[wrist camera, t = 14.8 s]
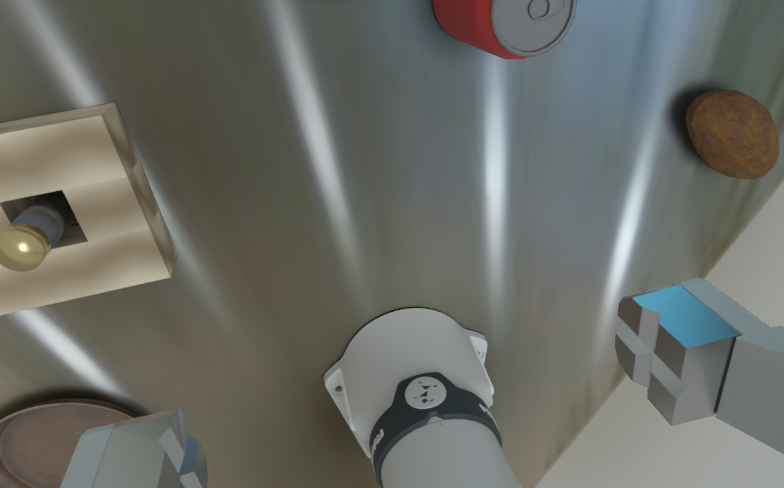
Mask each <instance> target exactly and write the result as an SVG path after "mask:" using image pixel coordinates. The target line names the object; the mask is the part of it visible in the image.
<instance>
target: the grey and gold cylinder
mask: <svg viewBox="0 0 784 488" xmlns="http://www.w3.org/2000/svg"><path fill="white" fill-rule="evenodd" d="M75 217H76V216H75V214H74V212H73V210H72V208H71V206H70V204H69V202H68V200H67V198H66V196H65V194H64V193H63V191H62V190H59V191H54V192H49V193H44V194H40V195H39V196H38V197H37V198H36V199H35V200H34V201H33V202H32V203H31V204H30V205H29V206H28V207H27V208H26V209H25V210H24V211H23V212H22V213H21V214H20V215H19V216H18V217H17V218H16V219H15V220H14V221H13V222H12V223H11V224H10V225H9V226H8V227H7V228H6V229H5V230H4V231H3V232H2V233H1V234H0V264H1V265H2V266H4V267H5V268H7V269H10V270H13V271H18V272H26V271H31V270H34V269H35V268H37V267H38V266H39V265H40V264H41V263H42V261H43V260H44V259H45V257H46V256H47V255H48V253H49V252H50V251H51V249H52V248H53V247H54V245H55V244H56V243H57V241H58V240H59V239H60V237H61V236H62V235H63V233H64V232H65V231H66V229H67V228H68V227H69V225H70V224H71V223H72V221H73V220H74V219H75Z"/></svg>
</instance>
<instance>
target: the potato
mask: <svg viewBox="0 0 784 488" xmlns="http://www.w3.org/2000/svg"><path fill="white" fill-rule="evenodd" d="M685 121H686V126H687V131H688V133H689V136H690V138H691V141H692V143H693V145H694V146H695V148H696V150H697V152H698V153H699V155H700V156H701V158H702V159H703V161H704V162H705V163H706V164H707V165H708V166H709V167H710V168H712V169H714V170H715V171H717V172H719V173H721V174H724V175H726V176H728V177H734V178H740V179H751V180H752V179H756V178H760V177H762V176H764V175H765V174H767V173H768V172H769V171H770V170H771V169H772V167H773V166H774V165H775V163H776V162H777V159H778V155H779V143H778V136H777V132H776V128H775V125H774V122H773V119H772V117H771V115H770V112H769V110H768V109H767V108H765V107H764V106H763V105H762V104H761V103H759V102H758V101H757V100H755V99H753V98H752V97H750V96H748V95H746V94H743V93H741V92H739V91H733V90H716V91H710V92H706V93H703V94H702V95H700V96H698V97H697V98H695V99H694V100H693V102H692V103H691V104H690V106H689V107H688V110H687V114H686V117H685Z"/></svg>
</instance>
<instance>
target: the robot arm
mask: <svg viewBox="0 0 784 488" xmlns="http://www.w3.org/2000/svg"><path fill="white" fill-rule="evenodd" d="M618 316H619V317H620V318H621V319H622V320H623V321H624V323H623V324H622V326H621V327H620V328H619V330H618V331H617V332H616V337H615V349H616V353H617V356H618V360H619V362H620V364H621V366H622V368H623V369H624V371H625V372H626V374H627V375H628V376H629V377H630V378H631V380H632V381H634V382H636V383H639V384H641V385H643V386H645V387H648V400H649V401H650V402H651V403H652V404H653V405H654V406H655V408H656V409H657V410H658V411H659V412H660V413H661V415H662V416H663V417H664V418H665V419H666V420H667V421H668V423H669V424H670V425H671V426H673V425H677V424H681V423H685V422H689V421H693V420H697V419H701V418H705V417H709V416H713V415H716V418H718V419H720V420H722V421H724V422H725V423H727V424H729V425H731V426H733V427H735V428H737V429H738V430H740V431H742V432H744V433H746V434H748V435H750V436H751V437H753V438H755V439H757V440H759V441H761V442H763V443H765V444H766V445H768V446H770V447H772V448H774V449H776V450H778V451H779V452H781V453H783V454H784V327H781V326H777V327H773V328H771V327H770V326H768V325H767V324H766V323H764V322H763V321H761V320H760V319H759V318H757V317H756V316H754V315H753V314H752V313H751V312H749V311H748V310H746V309H745V308H744V307H742V306H741V305H740V304H738V303H737V302H736V301H734V300H733V299H731V298H730V297H729V296H727V295H726V294H725V293H723V292H722V291H721V290H719V289H718V288H716V287H715V286H713V285H712V284H711V283H710V282H708V281H707V280H704V279H701V278H694V279H691V280H687V281H683V282H679V283H676V284H673V285H671V286H665V287H661V288H658V289H654V290H650V291H646V292H642V293H638V294H634V295H630V296H627V297H623V298H622V300H621V302H620V303H619V308H618ZM486 352H487V341H486V339H485V337H484V335H482V334H480V333H478V332H475V331H471V330H467V329H464V328H463V327H461V326H460V325H459V324H458V323H457V322H455V321H454V320H453V319H452V318H450V317H449V316H447V315H445V314H443V313H441V312H438V311H435V310H431V309H424V308H410V309H402V310H398V311H394V312H391V313H388V314H385V315H383V316H381V317H379V318H377V319H375V320H373V321H372V322H370V323H369V324H367V325H366V326H365V327H364V328H362V329H361V330H360V331H359V332H358V333H357V334H356V335H355V337H354V338H353V339H352V341H351V342H350V344H349V345H348V347H347V349H346V351H345V353H344V355H343V356H342V358H341V359H340V360H339V361H338V362H337V363H336V364H335V365H333V366H332V367H331V368H330V369H329V370H328V371H327V372H326V373H325V375H324V377H323V380H324V384H325V387H326V389H327V390H328V392H329V394H330V395H331V397H332V399H333V400H334V402H335V404H336V405H337V407H338V409H339V410H340V412H341V414H342V415H343V417H344V419H345V421H346V422H347V424H348V426H349V427H350V429H351V431H352V432H353V434H354V436H355V437H356V439H357V441H358V442H359V444H360V446H361V447H362V449H363V451H364V452H365V454H366V455H367V457H368V458H371V463H372V467H373V471H374V473H375V476H376V478H377V481H378V484H379V485H380V487H381V488H522V487H521V485H520V483H519V481H518V479H517V478H516V476H515V474H514V472H513V470H512V468H511V466H510V465H509V463H508V461H507V459H506V457H505V455H504V453H503V450H502V440H501V436H500V434H499V431H498V426H497V424H496V421H495V419H494V417H493V415H492V414H491V412H490V411H489V408H490V406H492V405H493V398H492V395H493V394H494V389H493V385H492V383H491V381H490V378H489V376H488V374H487V371H486V369H485V367H484V363H485V357H486ZM338 386H341V387H338ZM189 425H190V422H189V421H188V419H187V417H186V415H185V413H184V411H183V410H181V409H173V410H168V411H164V412H159V413H155V414H150V415H146V416H142V417H137V418H133V419H128V420H124V421H119V422H118V423H114V424H109V425H105V426H100V427H95V428H91V429H88V430H87V431H85V432H84V433H83V434H82V435H81V437H80V439H79V441H78V444H77V446H76V449H75V451H74V454H73V456H72V459H71V461H70V464H69V466H68V469H67V471H66V474H65V476H64V479H63V481H62V484H61V486H60V488H207V481H208V479H207V466H206V460H205V456H204V452H203V449H202V447H201V445H200V443H199V441H198V440H197V439H194V438H192V437H190V436H188V431H189Z"/></svg>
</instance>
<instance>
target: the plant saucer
mask: <svg viewBox="0 0 784 488" xmlns="http://www.w3.org/2000/svg"><path fill="white" fill-rule="evenodd" d="M137 417H138V416H137V415H135V414H133V413H132V412H130V411H128V410H127V409H125V408H122V407H120V406H118V405H115V404H112V403H109V402H105V401H101V400H96V399H88V398H64V399H56V400H50V401H45V402H41V403H37V404H34V405H31V406H28V407H25V408H23V409H20V410H18V411H16V412H14V413H12V414H10V415H8V416H6V417H4V418H3V419H1V420H0V488H60V486H61V484H62V481H63V479H64V476H65V474H66V471H67V469H68V466H69V464H70V461H71V459H72V456H73V454H74V451H75V449H76V446H77V444H78V441H79V439H80V437H81V435H82V434H83V433H84V432H85V431H87V430H88V429H91V428H95V427H100V426H105V425H109V424H114V423H118V422H119V421H124V420H128V419H133V418H137Z"/></svg>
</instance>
